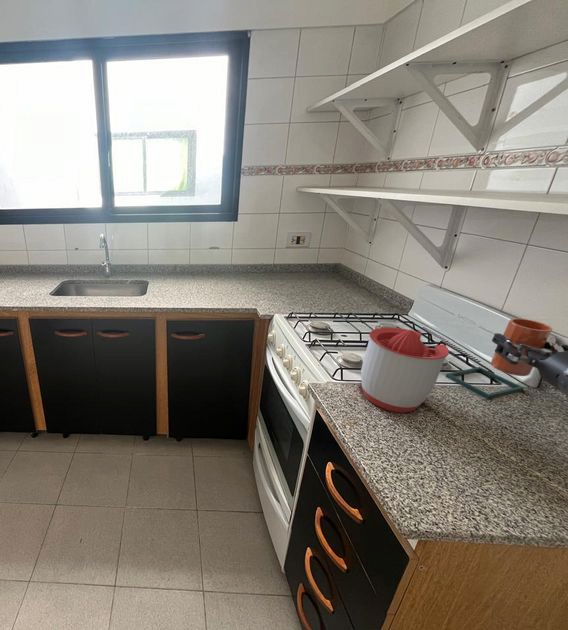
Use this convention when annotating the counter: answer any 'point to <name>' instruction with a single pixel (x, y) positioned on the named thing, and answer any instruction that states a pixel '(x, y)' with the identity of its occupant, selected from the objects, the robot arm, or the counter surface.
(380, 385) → the citrus juicer
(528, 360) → the robot arm
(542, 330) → the tumbler
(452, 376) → the frame
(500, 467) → the counter surface
